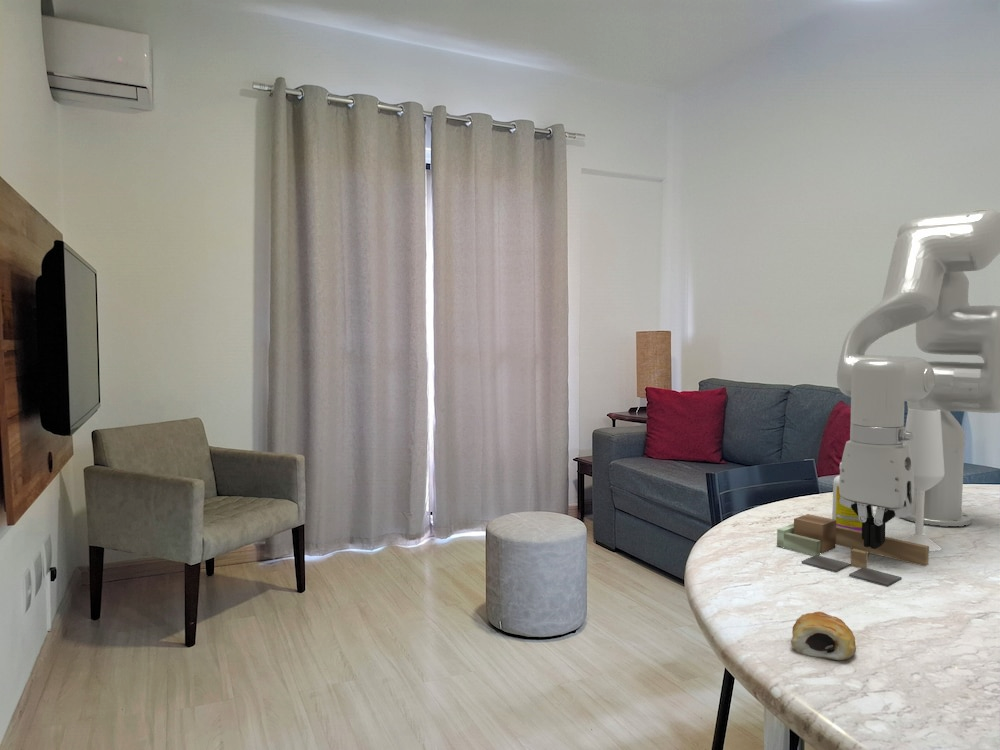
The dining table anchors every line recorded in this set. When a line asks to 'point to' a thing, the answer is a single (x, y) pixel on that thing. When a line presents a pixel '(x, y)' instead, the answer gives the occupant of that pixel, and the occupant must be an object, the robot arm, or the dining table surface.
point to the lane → (854, 553)
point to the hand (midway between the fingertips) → (873, 545)
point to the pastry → (823, 637)
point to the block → (817, 530)
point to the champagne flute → (924, 462)
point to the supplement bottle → (843, 510)
